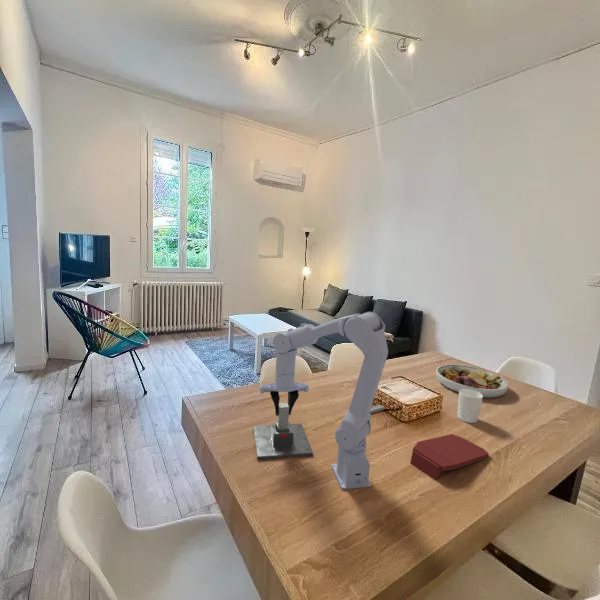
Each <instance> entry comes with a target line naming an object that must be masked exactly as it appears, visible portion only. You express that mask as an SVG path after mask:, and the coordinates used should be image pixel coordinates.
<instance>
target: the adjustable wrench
mask: <svg viewBox="0 0 600 600" xmlns="http://www.w3.org/2000/svg"><path fill="white" fill-rule="evenodd" d="M384 408H385V407H384V406H381V405H380V403H379V404H376V405H372V406H371V410H370V414H371V415H372V414H373V413H377V412H381V411H383V410H384Z"/></svg>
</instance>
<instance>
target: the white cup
mask: <svg viewBox="0 0 600 600" xmlns="http://www.w3.org/2000/svg"><path fill="white" fill-rule="evenodd" d="M483 398H484V397H483V395H482V394H481V393H479V392H477V391H474V390H470V389H461V390H459V392H458V399H457V418H458V419H459V420H461V421H463V422H465V423H468V424H475V423H477V422H478V421H479V420H478V419H479V416H480V411H481V409H482V404H483Z"/></svg>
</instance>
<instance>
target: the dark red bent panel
mask: <svg viewBox="0 0 600 600" xmlns="http://www.w3.org/2000/svg"><path fill="white" fill-rule="evenodd" d="M488 457H489V452H488V451H487V450H485V449H484V448H483V447H481V446H479V445H477V444H475V443H473V442H471V441H470V440H467V439H466V438H463V437H462V436H459V435H456V434H453V433H451V434H446V435H442V436H438V437H433V438H428V439H425V440H421V441H417V442H416V444H415V445H414V447H413V448H412V455H411V459H410V462H409V464H410V465H412V466H414V467H415V468H416V469H418V470H420V471H421V472H422V473H424V474H425V475H426V476H429V477H430V478H431V479H433V480H434V481H436V480H438V479H440V477H441V474H442V472H445V471H451V470H456V469H459V468H462V467H465V466H469V465H471V464H475V463H476V462H479V461H482V460H485V459H487V458H488Z"/></svg>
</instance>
